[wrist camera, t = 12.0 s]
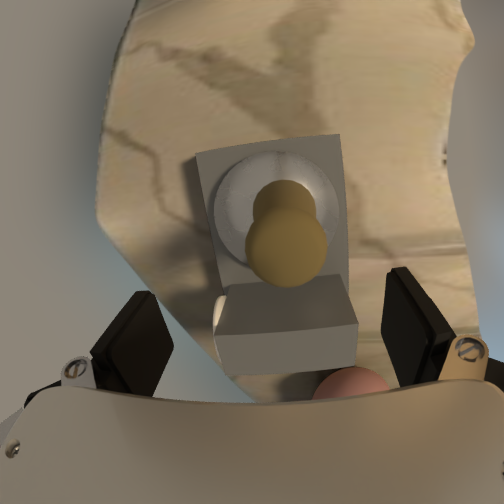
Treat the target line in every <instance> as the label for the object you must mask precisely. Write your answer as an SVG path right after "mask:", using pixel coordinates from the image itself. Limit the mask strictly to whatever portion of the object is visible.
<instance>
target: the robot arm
mask: <svg viewBox="0 0 504 504" xmlns="http://www.w3.org/2000/svg"><path fill="white" fill-rule="evenodd" d="M381 335H382V338H383V341H384V343H385V346H386V348H387V351H388V354H389V356H390V359H391V362H392V365H393V367H394V370H395V373H396V376H397V379H398V382H399V385H400V388H395V389H390V390H384V391H378V392H372V393H366V394H359V395H352V396H345V397H337V398H328V399H319V400H307V401H292V402H271V403H221V402H200V401H185V400H173V399H164V398H155V397H152V396H153V394H154V392H155V389H156V387H157V385H158V383H159V380H160V378H161V376H162V374H163V371H164V369H165V367H166V365H167V363H168V360H169V358H170V356H171V354H172V351H173V348H174V344H173V341H172V338H171V336H170V333H169V331H168V329H167V326H166V323H165V321H164V318H163V316H162V313H161V310H160V308H159V305H158V302H157V300H156V297H155V295H154V294H152V293H151V292H150V291H136V292H135V293H134V295H133V296H132V297H131V298H130V299H129V301H128V302H127V303H126V305H125V306H124V307H123V308H122V310H121V311H120V312H119V313H118V315H117V316H116V317H115V319H114V320H113V321H112V322H111V324H110V325H109V326H108V328H107V329H106V331H105V332H104V333H103V334H102V336H101V337H100V338H99V340H98V341H97V342H96V344H95V345H94V347H93V348H92V349H91V351H90V354H91V355H92V357H93V358H92V360H90V359H89V358H88V357H84V356H83V357H82V356H81V357H76V358H74V359H72V360H70V361H69V362H68V363H66V365H65V366H64V367H63V369H62V371H61V380H60V381H57V382H55V383H53V384H51V385H49V386H47V387H44V388H42V389H40V390H38V391H35V392H33V393H31V394H30V395H29V396H28V397H27V399H26V402H25V404H24V410H23V409H22V408H21V409H20V410H18V411H17V412H15V413H14V414H13V415H11V416H10V417H9V418H7V419H6V420H5V421H3V422H2V423H1V424H0V504H504V363H503V362H500V361H497V360H495V359H492V358H489V357H488V356H489V349H488V347H487V345H486V343H485V342H484V341H483V340H482V339H480V338H479V337H477V336H474V335H469V334H465V335H460V336H458V337H457V336H456V334H455V333H454V331H453V330H452V328H451V327H450V325H449V324H448V322H447V321H446V319H445V318H444V316H443V315H442V314H441V312H440V311H439V309H438V308H437V306H436V305H435V304H434V302H433V301H432V299H431V298H430V297H429V296H428V295H427V294H426V292H425V291H424V290H423V288H422V287H421V286H420V284H419V283H418V282H417V280H416V279H415V278H414V276H413V275H412V274H411V272H410V271H409V270H408V269H407V267H398V268H392V269H391V272H389V273H387V276H386V287H385V297H384V307H383V315H382V323H381Z"/></svg>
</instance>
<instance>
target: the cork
mask: <svg viewBox="0 0 504 504" xmlns="http://www.w3.org/2000/svg"><path fill="white" fill-rule="evenodd" d="M253 221H254V222H253V223H252V224H251V226H250V228H249V231H248V233H247V236H246V238H245V254H246V257H247V261H248V264H249V266H250V268H251V269H252V271H253V272H254V274H255V275H256V276H257V277H259V278H260V279H261V280H263V281H264V282H265V283H268V284H270V285H273V286H275V287H284V288H290V287H295V286H300V285H302V284H304V283H306V282H308V281H310V280H311V279H313V278H314V277H315V276H316V275H317V274H318V273H319V272H320V270H321V268H322V266H323V264H324V263H325V260H326V254H327V248H328V244H327V238H326V234H325V232H324V230H323V228H322V226H321V225H320V223H319V221H318V220H317V219H316V205H315V200H314V198H313V196H312V195H311V193H310V191H309V190H308V189H306V188H305V187H304V186H303V185H302V184H300V183H297V182H295V181H293V180H283V179H282V180H277V181H273V182H271V183H269V184H267V185H266V186H264V187H263V188H262V189H261V190H260V191H259V192H258V194H257V195H256V198H255V200H254V203H253Z"/></svg>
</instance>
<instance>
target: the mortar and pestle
mask: <svg viewBox="0 0 504 504" xmlns="http://www.w3.org/2000/svg"><path fill="white" fill-rule="evenodd" d="M384 390H390V389H389V387H388V385H387V383H386V382H385V380H384V379H383V378H382V377H381V376H380V375H378V374H377V373H375V372H374V371H371V370H369V369H366V368H361V367H350V368H344V369H341V370H339V371H336V372H334V373H332V374H331V375H329V376H328V377H327V378H326V379H324V380H323V381H322V383H321V384H320V385H319V386H318V388H317V389H316V391H315V393H314V395H313V398H312V400H319V399H328V398H337V397H345V396H352V395H359V394H366V393H372V392H378V391H384Z"/></svg>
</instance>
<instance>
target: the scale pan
mask: <svg viewBox="0 0 504 504" xmlns="http://www.w3.org/2000/svg"><path fill="white" fill-rule="evenodd" d="M282 179H283V180H293V181H295V182H297V183H300V184H302V185H303V186H304V187H305V188H306V189H308V190H309V191H310V193H311V195H312V196H313V198H314V200H315V205H316V219H317V220H318V221H319V223H320V225H321V226H322V228H323V230H324V232H325V234H326V238H327V244H328V246H329V244H330V243H331V241H332V239H333V237H334V235H335V232H336V229H337V225H338V219H339V205H338V199H337V196H336V192H335V190H334V188H333V185H332V184H331V182H330V180H329V179H328V177H327V176H326V175H325V174H324V172H323V171H322V170H321V169H320V168H319V167H318V166H316V165H315V164H314V163H312V162H311V161H309V160H308V159H306V158H304V157H302V156H300V155H297V154H294V153H290V152H285V151H267V152H262V153H258V154H255V155H253V156H250V157H248V158H246V159H244V160H243V161H241V162H240V163H238V164H237V165H236V166H235V167H233V168H232V169H231V170H230V171H229V173H228V174H227V175H226V176H225V177H224V179H223V181H222V182H221V184H220V186H219V189H218V191H217V194H216V198H215V203H214V219H215V225H216V228H217V231H218V234H219V236H220V238H221V240H222V242H223V243H224V245H225V246H226V247H227V249H228V250H229V251H230V252H231V253H232V254H233V255H234V256H235V257H236V258H237V259H239V260H240V261H242V262H243V263H245V264H247V265H249V264H248V261H247V257H246V254H245V238H246V236H247V233H248V231H249V228H250V226H251V224H252V223H253V222H254V221H253V203H254V200H255V198H256V195H257V194H258V192H259V191H260V190H261V189H262V188H263V187H264V186H266V185H267V184H269V183H271V182H273V181H277V180H282Z"/></svg>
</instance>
